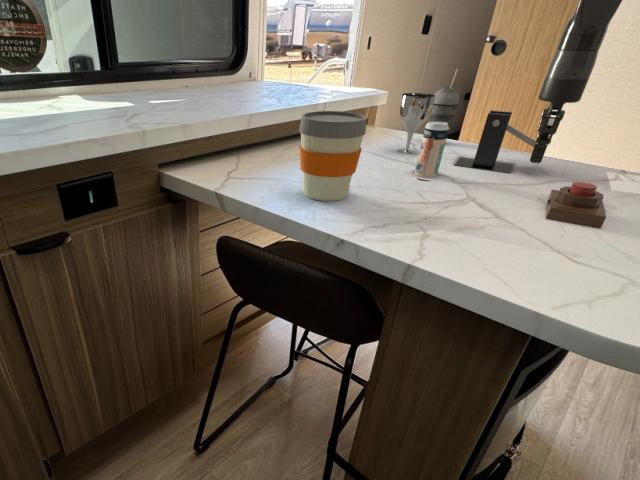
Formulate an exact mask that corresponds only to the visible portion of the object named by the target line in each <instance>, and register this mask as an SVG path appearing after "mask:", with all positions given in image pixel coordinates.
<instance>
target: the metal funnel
mask: <svg viewBox="0 0 640 480" xmlns="http://www.w3.org/2000/svg"><path fill="white" fill-rule="evenodd" d="M435 97H436V96H435V94H433V93H432V94H431V93H424V92H423V93H422V92H405V93H402V94H401V97H400V104H399V118H400V121H401V123H402V124H403V126H404V128H405V130H406V133H407V137H406V146H405V150H404V151H403V152H402V153H403V154H406V155H409V154H410V151H409V150H410V145H411V143H412V139H413V137H414V135H415V133H416V131H417V130H418V129H419V128H420V127H422V126H423V125H424V124H425V123H426V122H427V121H428V120H429V117H430V113H431V111H432V108H433V105H434V101H435Z"/></svg>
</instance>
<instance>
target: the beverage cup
mask: <svg viewBox="0 0 640 480" xmlns="http://www.w3.org/2000/svg"><path fill="white" fill-rule="evenodd" d="M458 72H459V69H458V68H456V69H455V72H454V74H453V78H452V80H451V83H450V86H449V87H443V88H439V90H438V91H436V92H435V93H434V95H435V96H436V97H435V101H434V105H433V108H432V111H431V113H430V115H429V118H428V122H431V121H439V122H446V123H448V127H449V128H450V127H451V123H452V121H453V119H454V115H455V113H456V112H457V109H458V106H459V104H460V103H459V102H460V97H459V93H458V92H457V90H456V89H455V88H453V86H454V83H455V80H456V77H457V74H458Z"/></svg>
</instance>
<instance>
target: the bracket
mask: <svg viewBox="0 0 640 480" xmlns="http://www.w3.org/2000/svg"><path fill="white" fill-rule="evenodd" d="M497 113H499V114H497ZM512 114H513V111H502V110H490V112H488V113H487V116H486V120H485V122H484V125H483V129H482V132H481V135H480V139H479V143H478V145H477V149H476V153H475V156H474V158H471V157H464V156H460V157H459V158H458V159H457V161H456V162H455V163H454V165H453V167H460V168H466V169H467V168H468V169H473V170H481V171H487V172H495V173H502V174H511V172H512V169H513V167H514V163H512V162H511V163H509V162H502V161H497V159H498V156H499V153H500V150H501V148H502V145H503V142H504V138H505V135H506V132H507V130H506V127H507V124H509V123H510V120H511V117H512Z"/></svg>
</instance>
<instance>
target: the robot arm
mask: <svg viewBox="0 0 640 480" xmlns="http://www.w3.org/2000/svg"><path fill="white" fill-rule="evenodd" d="M622 2H623V0H578V3H577V6H576V7H575V11H574V13H573V15H572V16H571V17H570V19H568V21H567V22H566V24H565V27H564V29H563V32H562V34H561V37H560V40H559V41H558V45H557V47H556V50H555V52H554V55H553V57H552V59H551V61H550V64H549V67H548V68H547V71H546V75H545V78H544V80H543V83H542V86H541V88H540V91H539V94H538V100H540V101H543V102H548V103H549V106H547V108H544V109H542V113H541V115H540V122H539V124H538V127H537V131H536V133H537V135H536V139H535V140H534V141H535V147H533V149H532V152H531V154H530V158H529V162H530V163H534V164H541V163H542V161H543V158H544V155H545V153H546V150H547V148H548V146H549V145H550V144H551V143H552V138H553V136H554V135H555V134H556V133H557V132H558V129H559V125H560V124H561V122H562V120H563V119H564V116H565V114H566V110H565V109H563V107H564V105H565V104H576V103H579V102H580V101H581V99H582V97H583V94H584V92H585V90H586V87H587V85H588V83H589V80H590V77H591V75H592V72H593V70H594V68H595V65H596V62H597V59H598V54H599V51H600V49H601V46H602V44H603V42H604V40H605V37H606V34H607V32H608V28H609V27H610V23H611V21H612V20H613V18H614V16H615V15H616V13H617V11H618V9H619V7H620V6H621V5H622Z"/></svg>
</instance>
